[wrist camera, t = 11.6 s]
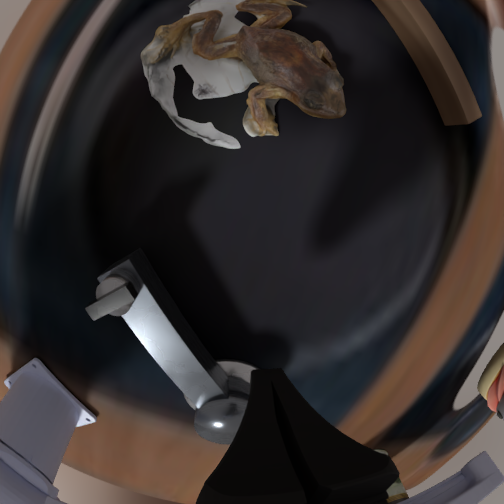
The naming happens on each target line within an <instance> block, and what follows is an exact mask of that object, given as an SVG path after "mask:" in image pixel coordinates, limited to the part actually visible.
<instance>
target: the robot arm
mask: <svg viewBox="0 0 504 504" xmlns="http://www.w3.org/2000/svg"><path fill="white" fill-rule="evenodd" d="M4 383H5V384H6V386H7V387H8V388H9V391H8V392H7V394H6V395H5V396H4V398H3V399H2V401H1V402H0V504H67V503H64V502H62V501H60V500H59V498H58V497H57V495H58V491H59V490H58V489H57V488H56V487H54V486H53V482H54V479H55V477H56V474H57V471H58V469H59V466H60V464H61V461H62V458H63V456H64V453H65V451H66V449H67V446H68V444H69V441H70V439H71V437H72V434H73V432H74V430H75V428H76V427H79V426H83V425H86V424H90V423H93V422H96V420H97V417H96V416H95V415H94V414H93V413H92V412H90V411H89V410H88V409H87V408H86V407H85V406H84V405H83V404H82V403H81V402H79V401H78V400H77V399H76V398H75V397H74V396H73V395H72V394H71V393H70V392H69V391H68V390H67V389H66V388H65V387H64V386H63V385H62V384H61V383H60V382H59V381H58V380H57V379H56V377H55V376H54V375H53V374H52V373H51V372H50V371H49V370H48V369H47V368H46V366H45V365H44V364H43V363H42V362H41V361H40V360H39V359H38V358H34V359H32V360H31V361H30V362H28V363H27V364H26V365H24V366H23V367H21V368H20V369H19V370H17V371H16V372H15V373H13V374H12V375H11V376H9V377H8V378H7V379H5V381H4ZM398 477H399V471H398V470H397V468H396V466H395V464H394V462H393V461H392V460H391V458H390V457H389V456H387V455H385V454H382V453H380V452H377V451H375V450H372V449H370V448H368V447H366V446H364V445H362V444H360V443H358V442H356V441H355V440H353V439H351V438H350V437H348V436H347V435H345V434H343V433H342V432H340V431H339V430H338V429H336V428H335V427H334V426H332V425H331V424H330V423H329V422H327V421H326V420H325V419H324V418H323V417H322V416H321V415H320V414H318V413H317V412H316V411H315V410H314V409H313V408H312V407H311V405H310V404H309V403H308V402H307V401H306V400H305V399H304V398H303V396H302V395H301V394H300V393H299V392H298V391H297V389H296V388H295V387H294V385H293V384H292V383H291V381H290V380H289V379H288V377H287V376H286V374H285V373H284V371H283V370H282V369H281V368H277V369H253V370H252V371H251V375H250V393H249V399H248V403H247V406H246V410H245V413H244V416H243V419H242V421H241V424H240V426H239V428H238V431H237V433H236V435H235V437H234V439H233V441H232V443H231V445H230V447H229V448H228V450H227V452H226V453H225V455H224V457H223V458H222V460H221V461H220V463H219V464H218V466H217V467H216V469H215V470H214V471H213V472H212V474H211V475H210V476H209V477H208V479H207V480H206V481H205V483H204V486H203V488H202V490H201V492H200V494H199V496H198V499H197V502H196V504H388V502H387V500H386V499H388V498H389V495H388V493H387V491H386V490H387V489H388V488H389V487H390V486H391V485H392V484H393V483H394V482H395V481H396V480H397V479H398ZM503 482H504V476H503V475H502V473H501V472H500V470H499V469H498V468H497V466H496V465H495V463H494V462H493V461H492V459H491V458H490V457H489V455H488V454H487V452H486V451H483V452H482V453H480V454H479V455H477V456H476V457H475V458H473V459H472V460H470V461H469V462H468V463H467V464H466V465H465V466H464V467H463V468H462V469H461V471H459V472H457V473H456V474H454V475H452V476H451V477H449V478H447V479H446V480H444V481H442V482H440V483H438V484H437V485H435V486H433V487H431V488H429V489H427V490H426V491H423V492H421V493H419V494H417V495H415V496H413V497H411V498H409V499H406V500H404V501H402V502H399V503H397V504H478V503H479V502H480V501H482V500H483V499H484V498H485V497H487V496H488V495H489V494H490V493H491V492H492V491H494V490H495V489H496V488H497V487H498V486H499V485H501V484H502V483H503Z"/></svg>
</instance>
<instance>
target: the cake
mask: <svg viewBox="0 0 504 504" xmlns="http://www.w3.org/2000/svg"><path fill="white" fill-rule="evenodd" d="M477 389H478V391H479V392H480V394H481V395H482V396H483V397H484V398H485V399H486V400H487V402H488V407H489V408H490V409H491V410H492V411H495V412H497V416H498V417H499V418H501V419H504V343H503V344H502V345H501V346H500V348H499V349H498V350H497V352H496V353H495V354H494V356H493V357H492V359H491V360H490V362H489V363H488V364H487V366H486V368H485V370H484V372H483V373H482V375H481V377H480V380H479V382H478V387H477Z"/></svg>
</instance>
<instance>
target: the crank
mask: <svg viewBox="0 0 504 504" xmlns="http://www.w3.org/2000/svg"><path fill="white" fill-rule="evenodd" d="M97 279H98V280H99V282H100V284H99V285H98V287H97V289H96V300H94V301H92V302H90V303H89V304H88V305H87V307H86V308H85V309H86V311H87V312H88V314H89V315H90V317H91V318H92V320H93V321H94V320H96V319H98V318H100V317H102V316H104V315H106V314H110V315H113V316H122V317H123V318H124V320H125V321H126V322H127V324H128V325H129V327H130V328H131V329H132V331H133V332H134V333H135V335H136V336H137V337H138V339H139V340H140V341H141V343H142V344H143V345H144V347H145V348H146V349H147V350H148V352H149V353H150V354H151V355H152V357H153V358H154V359H155V360H156V362H157V363H158V364H159V365H160V366H161V368H162V369H163V370H164V371H165V372H166V373H167V375H168V376H169V377H170V378H171V379H172V380H173V382H174V383H175V384H176V385H177V386H178V387H179V388H180V389H181V391H182V392H183V393H184V394H185V395H186V396H187V397H188V398H189V399H190V400H191V401H192V402H193V403H194V404H195V406H196V410H195V421H194V427H195V430H196V432H197V433H198V434H199V435H200V436H201V437H203V438H204V439H206V440H209V441H211V442H215V443H219V444H231V443H232V441H233V439H234V437H235V435H236V433H237V431H238V428H239V426H240V424H241V421H242V419H243V416H244V413H245V410H246V406H247V403H248V399H249V393H250V383H249V382H247V381H245V380H242V379H239V378H233V377H227V376H226V374H225V373H224V372H223V370H222V369H221V368H220V366H219V365H218V364H217V362H216V361H215V360H214V358H213V357H212V356H211V354H210V353H209V352H208V350H207V349H206V347H205V346H204V345H203V343H202V342H201V341H200V339H199V338H198V336H197V335H196V333H195V332H194V331H193V329H192V328H191V326H190V325H189V323H188V322H187V320H186V319H185V317H184V316H183V314H182V313H181V311H180V310H179V308H178V307H177V305H176V304H175V302H174V301H173V299H172V298H171V296H170V295H169V293H168V291H167V290H166V288H165V287H164V285H163V283H162V282H161V280H160V279H159V277H158V275H157V274H156V272H155V270H154V269H153V267H152V265H151V264H150V262H149V260H148V259H147V257H146V255H145V254H144V252H143V250H142V248H139V249H137V250H136V251H134V252H132V253H131V254H129V255H127V256H125V257H124V258H122V259H120V260H119V261H117V262H115V263H113V264H112V265H111V266H109V267H108V268H107V269H106V270H105V271H104V272H103V273H102V274H101V275H100V276H99V277H98V278H97Z"/></svg>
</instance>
